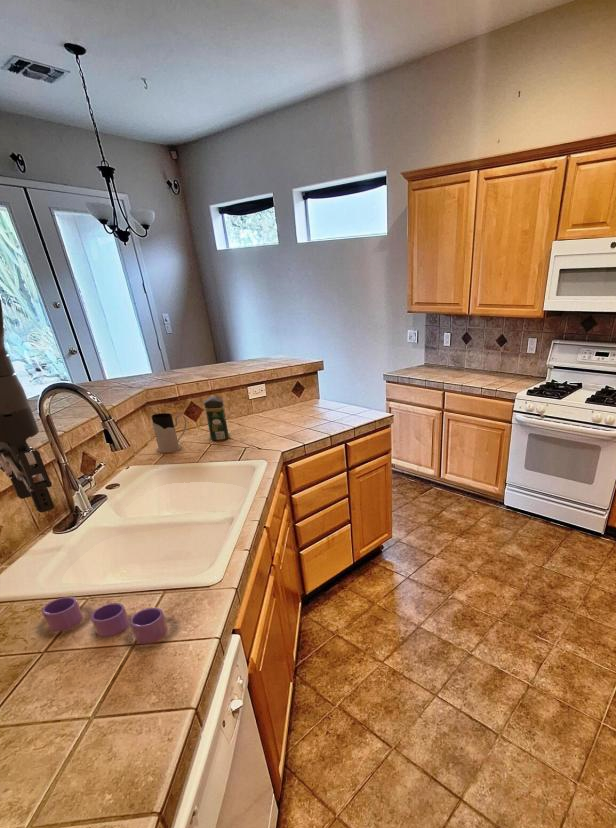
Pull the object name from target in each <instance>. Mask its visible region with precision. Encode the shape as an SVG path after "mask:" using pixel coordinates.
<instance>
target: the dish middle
mask: <svg viewBox="0 0 616 828" xmlns="http://www.w3.org/2000/svg"><path fill="white" fill-rule="evenodd" d="M90 620H91V623H92V626H93V628H94V631H95V633H96V634H97V635H98V636H99V637H111V636H115V635H118V634H120V633H121V632H123V631H124V630H126V629H127V628H128V626H130V619H129V616H128V613H127V609H126V607H125V605H124V604H123V603H120V602H111V603H107V604H104V605H101V606H99V607H97V608H96V609H95V610H93V611H92V613H90Z"/></svg>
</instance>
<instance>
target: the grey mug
mask: <svg viewBox="0 0 616 828" xmlns="http://www.w3.org/2000/svg"><path fill="white" fill-rule="evenodd" d="M150 417H151V421H152V426H153V431H154V435H155V440H156V443H157V447H158V450H157V451H158V452H159V453H174V452H177V451H179V450H180V449H181V446H180V443H179V441H180V440H181V438H182V437H183V435H185V432H186V430H187V419H186V417H185V415H182V414H177V415H176V417H175V419H173V414H172V413H169V412H164V413H155V414H152V415H151V416H150ZM179 417H183V420H184V427H183V431H182V433H181V434H180V436H179V437H178V436H177V430H176V427H177V426H178V418H179ZM174 422H175V423H174Z"/></svg>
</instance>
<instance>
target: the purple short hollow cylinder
mask: <svg viewBox="0 0 616 828" xmlns="http://www.w3.org/2000/svg"><path fill="white" fill-rule="evenodd" d="M41 615H42V616H43V619H44V620H45V623H46V625H47V628H49V630H50V631H52V632H64V631H67V630H70V629H72V628H74V627H76V626H77V625H79V624H80V623H82V621H83V619H84V615H83V612H82V609H81V607H80V605H79V601H78V600H77V599H76V597H73V596H64V597H61V598H60V597H59V598H56V599H53V600H51V601H49V602H48V603H46V604H45V605H44V606H43V607H42V608H41Z"/></svg>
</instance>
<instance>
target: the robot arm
mask: <svg viewBox="0 0 616 828" xmlns="http://www.w3.org/2000/svg"><path fill="white" fill-rule="evenodd" d="M38 434H39V427H38V425H37V421H36V418H35V416H34V414H33V411H32V408H31V406H30V403H29V400H28V397H27V395H26V392H25V389H24V387H23V385H22V383H21V381H20V379H19V378H18V376H17V374H16V370H15V368H14V364H13V362H12V359H11V357H10V355H9V352H8V350H7V347H6V345H5V324H4V313H3V303H2V297H1V295H0V470H1V471H2V472H3V473H5V476H6V477H7V478H8V479H9V480H10V482H11V484H12V487H13V489H14V492H15V494H16V496H17V497H18V499H21V500H23V499H27V498H31V499H32V502H33V505H34V507H35V509H36V511H37V512H39V513H45V512H49V511H52V510H54V509H55V504H54V502H53V499H52V496H51V494H50V492H49V488H52V487H53V482H52V481H51V479H50V477H49V474H48V472H47V470H46V466H45V464H44V461H43V459H42V457H41V453H40V451H38V450H37V449H35V448H34V447H30V446H29V444H28V442H27V440H28V439H29V438H32V437H35V436H36V435H38ZM36 477H37V478H38V480H39V481H34V478H36Z"/></svg>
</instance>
